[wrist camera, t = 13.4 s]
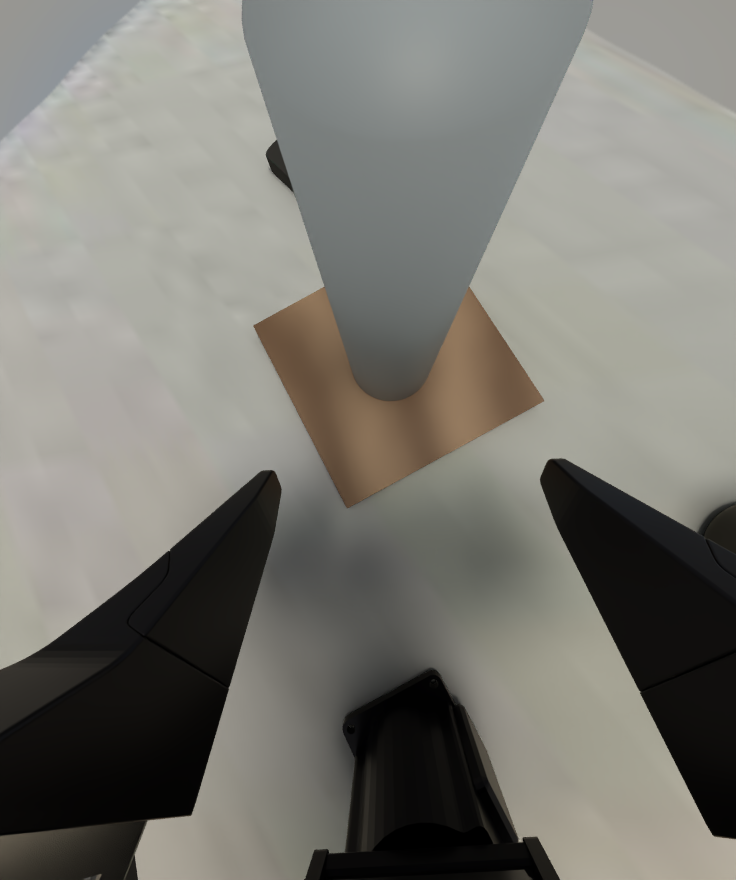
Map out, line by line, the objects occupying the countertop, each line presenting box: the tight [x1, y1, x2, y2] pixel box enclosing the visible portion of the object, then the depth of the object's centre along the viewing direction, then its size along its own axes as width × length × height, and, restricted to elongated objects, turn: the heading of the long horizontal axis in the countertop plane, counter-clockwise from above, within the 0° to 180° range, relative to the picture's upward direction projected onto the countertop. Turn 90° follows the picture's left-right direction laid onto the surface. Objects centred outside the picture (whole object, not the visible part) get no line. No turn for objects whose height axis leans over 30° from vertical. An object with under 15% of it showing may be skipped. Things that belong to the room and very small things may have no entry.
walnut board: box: [254, 287, 544, 508], centre depth 18 cm, size 14×14×1 cm
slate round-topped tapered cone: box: [242, 0, 593, 401], centre depth 11 cm, size 5×5×14 cm
